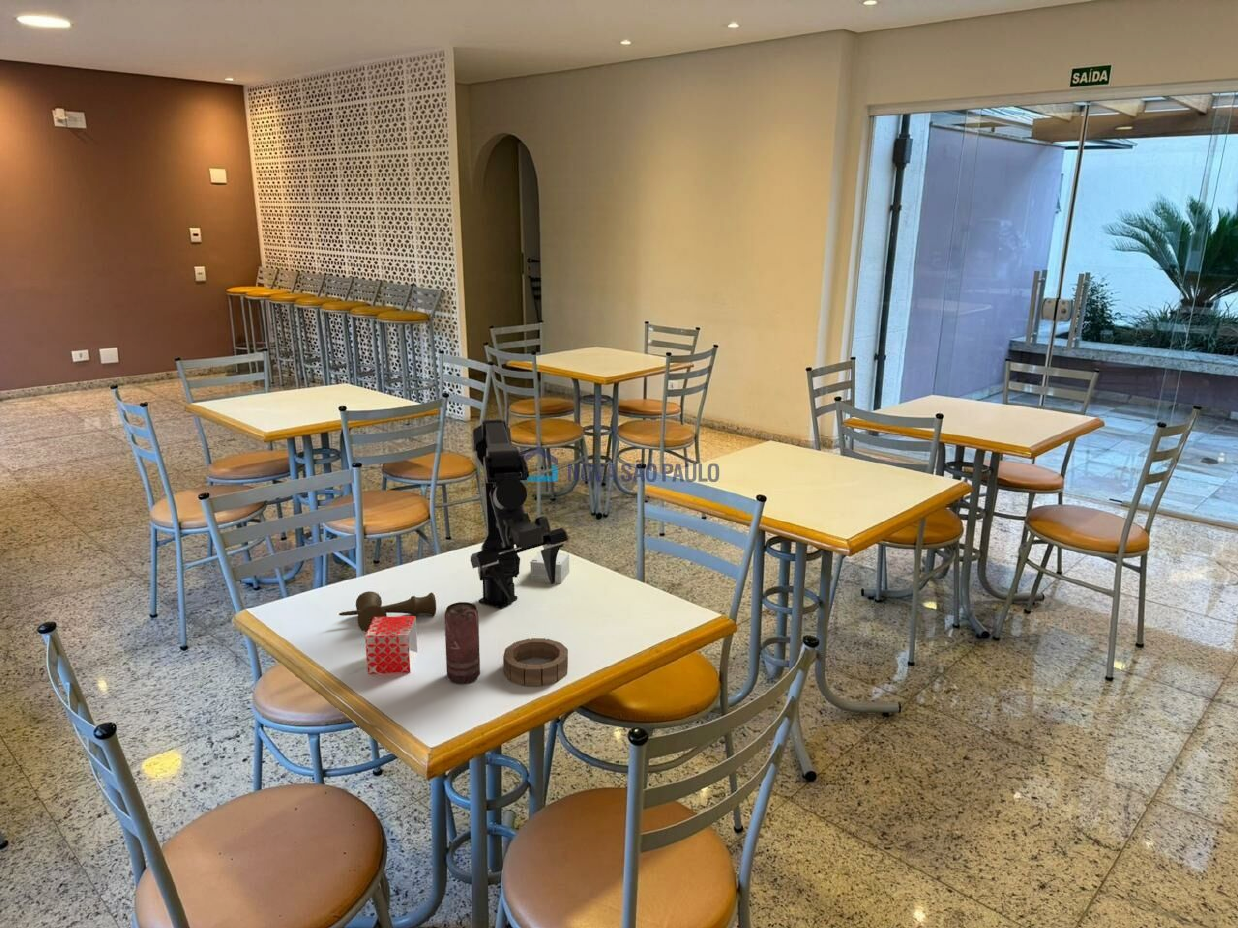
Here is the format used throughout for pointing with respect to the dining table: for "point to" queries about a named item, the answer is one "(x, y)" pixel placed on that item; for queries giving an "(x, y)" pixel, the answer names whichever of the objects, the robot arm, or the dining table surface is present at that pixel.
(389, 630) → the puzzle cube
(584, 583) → the dining table surface
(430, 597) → the kendama
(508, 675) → the walnut ring
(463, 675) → the can
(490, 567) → the robot arm
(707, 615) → the dining table surface
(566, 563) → the small box
